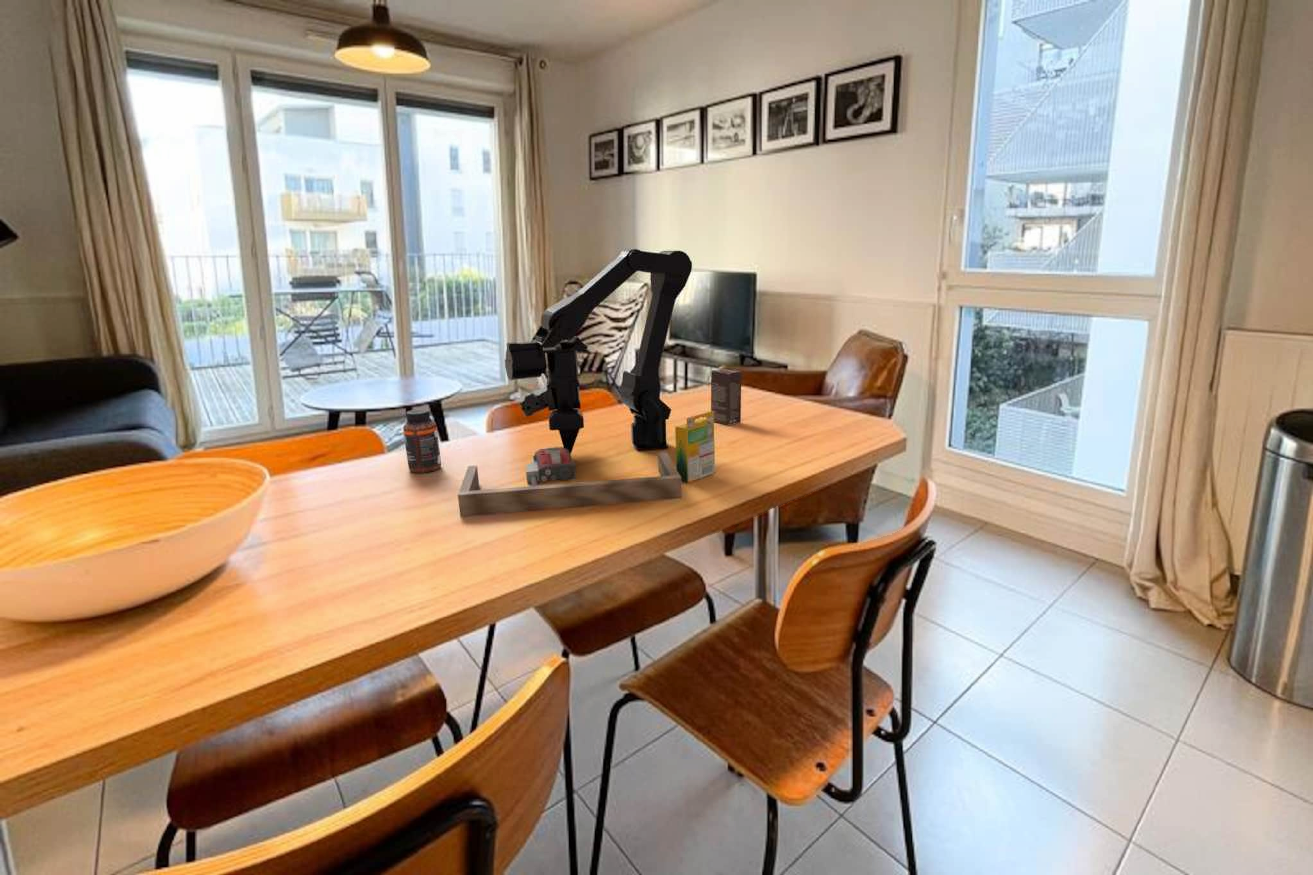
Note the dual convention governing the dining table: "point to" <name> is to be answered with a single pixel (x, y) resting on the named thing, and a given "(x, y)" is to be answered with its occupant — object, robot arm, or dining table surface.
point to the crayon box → (695, 447)
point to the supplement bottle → (421, 442)
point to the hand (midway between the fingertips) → (568, 453)
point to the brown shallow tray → (569, 492)
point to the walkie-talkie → (551, 466)
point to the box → (726, 396)
